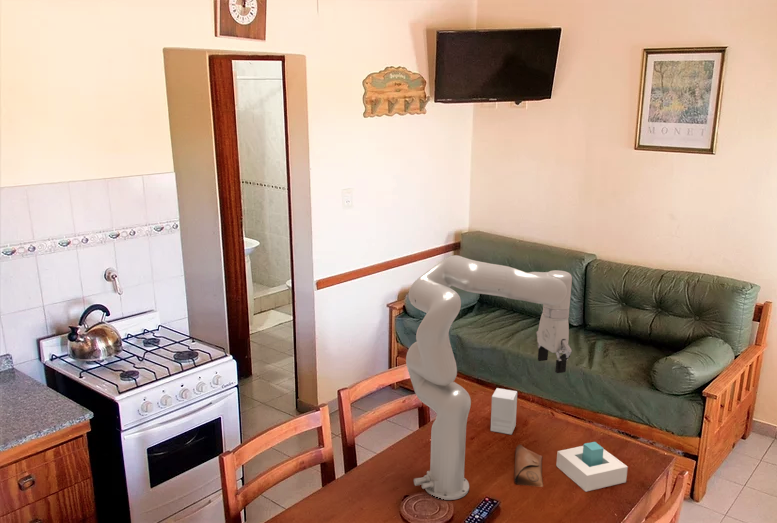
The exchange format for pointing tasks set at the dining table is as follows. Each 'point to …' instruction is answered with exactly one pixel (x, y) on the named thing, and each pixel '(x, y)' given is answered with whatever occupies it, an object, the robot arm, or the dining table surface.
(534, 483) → the sunglasses case
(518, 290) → the robot arm
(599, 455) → the teal post
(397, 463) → the dining table surface
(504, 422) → the supplement box
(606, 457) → the well block
